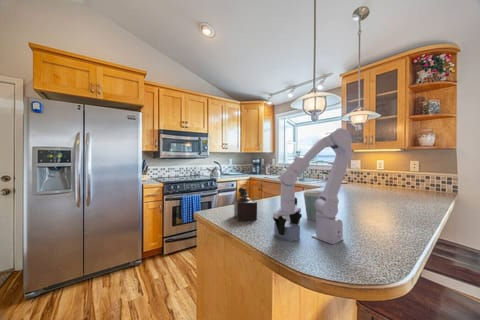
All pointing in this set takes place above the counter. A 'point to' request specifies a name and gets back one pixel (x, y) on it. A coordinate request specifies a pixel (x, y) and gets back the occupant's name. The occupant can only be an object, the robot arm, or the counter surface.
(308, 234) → the counter surface
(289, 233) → the blue-gray rectangular block
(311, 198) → the disposable coffee cup
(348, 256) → the counter surface
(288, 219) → the medicine bottle
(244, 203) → the dark brown boxy bottle
